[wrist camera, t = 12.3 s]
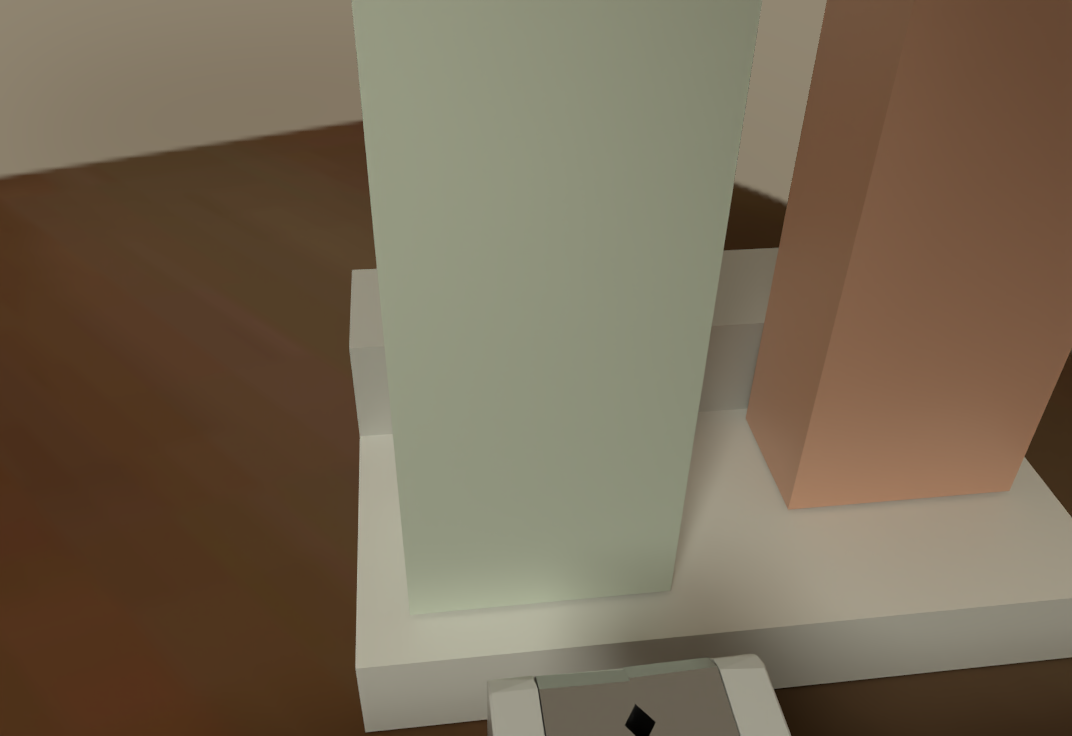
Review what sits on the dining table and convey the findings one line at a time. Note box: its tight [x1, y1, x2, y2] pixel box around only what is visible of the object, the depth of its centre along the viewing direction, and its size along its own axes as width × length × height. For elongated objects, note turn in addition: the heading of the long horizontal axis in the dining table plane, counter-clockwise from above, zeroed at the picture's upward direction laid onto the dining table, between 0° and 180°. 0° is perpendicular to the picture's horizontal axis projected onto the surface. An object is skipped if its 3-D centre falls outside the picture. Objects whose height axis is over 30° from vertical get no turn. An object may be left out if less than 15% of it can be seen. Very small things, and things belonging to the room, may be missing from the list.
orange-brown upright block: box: [746, 0, 1072, 510], centre depth 18 cm, size 5×3×12 cm, turn 97°
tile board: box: [349, 248, 1072, 732], centre depth 22 cm, size 15×10×4 cm, turn 97°
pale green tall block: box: [351, 0, 762, 615], centre depth 16 cm, size 5×3×12 cm, turn 97°
